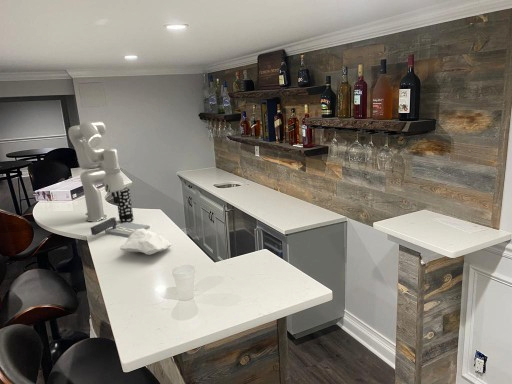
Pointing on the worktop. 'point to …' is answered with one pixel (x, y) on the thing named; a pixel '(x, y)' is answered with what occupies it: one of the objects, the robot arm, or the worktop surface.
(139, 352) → the worktop surface
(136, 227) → the label panel
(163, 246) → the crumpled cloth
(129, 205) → the white-spotted black cylinder
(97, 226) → the swing arm
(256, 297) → the worktop surface
